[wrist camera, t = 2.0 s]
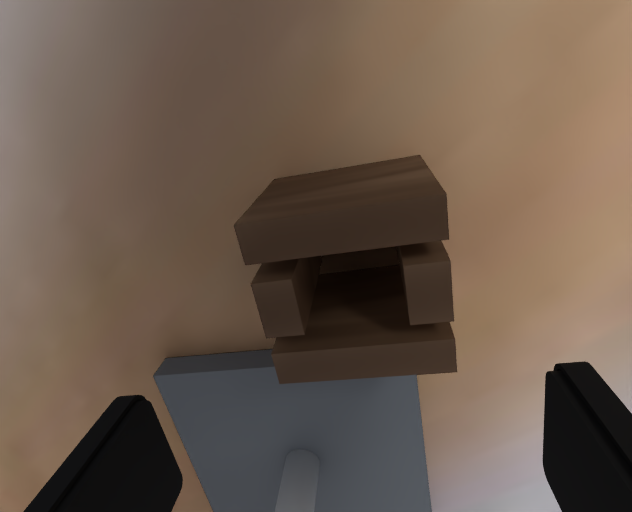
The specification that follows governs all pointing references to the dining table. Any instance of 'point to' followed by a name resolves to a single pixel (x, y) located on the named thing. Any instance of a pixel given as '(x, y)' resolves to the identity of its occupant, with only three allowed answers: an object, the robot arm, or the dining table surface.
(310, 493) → the stand
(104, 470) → the robot arm
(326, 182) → the wooden block stack
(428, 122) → the dining table surface
